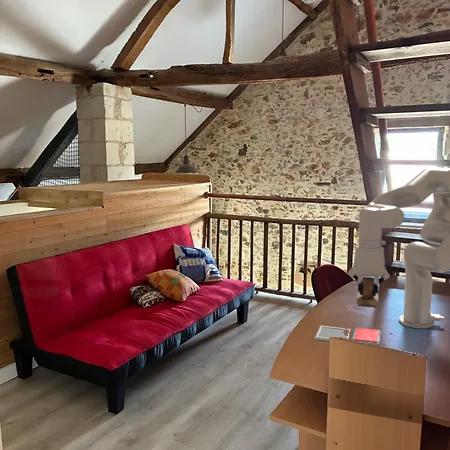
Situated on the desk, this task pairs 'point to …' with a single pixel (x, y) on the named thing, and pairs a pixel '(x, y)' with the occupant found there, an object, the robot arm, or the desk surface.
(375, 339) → the ink pad
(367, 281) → the stamp
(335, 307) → the desk surface
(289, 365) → the desk surface
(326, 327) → the board
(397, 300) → the desk surface
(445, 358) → the desk surface
